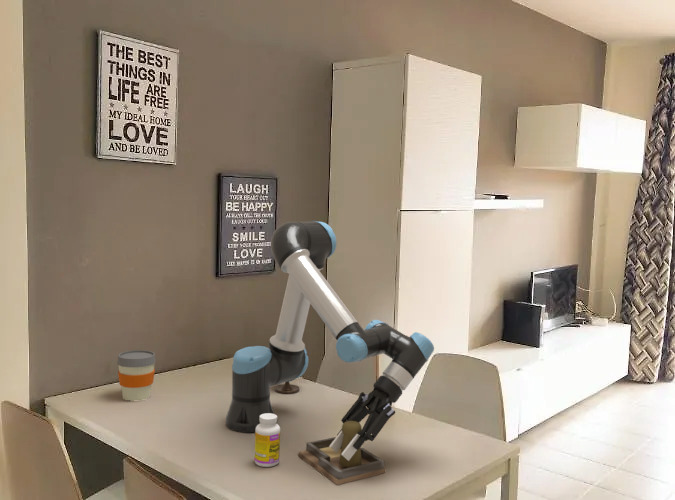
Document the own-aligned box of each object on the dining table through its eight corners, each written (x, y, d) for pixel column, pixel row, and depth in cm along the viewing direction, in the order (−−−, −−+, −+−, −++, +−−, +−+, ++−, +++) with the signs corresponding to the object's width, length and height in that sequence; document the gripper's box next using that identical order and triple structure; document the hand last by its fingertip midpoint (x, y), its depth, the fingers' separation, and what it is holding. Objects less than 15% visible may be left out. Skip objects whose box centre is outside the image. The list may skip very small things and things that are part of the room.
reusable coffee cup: (163, 396, 224) (163, 353, 223) (134, 405, 214) (134, 361, 212) (138, 389, 231) (138, 348, 230) (109, 398, 220) (109, 355, 219)
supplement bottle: (269, 470, 168) (270, 422, 167) (249, 463, 172) (250, 416, 171) (284, 461, 174) (285, 415, 173) (265, 455, 177) (266, 410, 176)
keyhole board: (298, 455, 178) (298, 444, 178) (343, 445, 186) (344, 435, 186) (336, 484, 161) (337, 472, 161) (385, 472, 169) (385, 460, 169)
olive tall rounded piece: (359, 469, 166) (361, 427, 165) (336, 466, 167) (338, 425, 166) (363, 459, 172) (365, 419, 171) (341, 456, 173) (342, 417, 172)
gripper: (421, 401, 168) (366, 474, 161) (380, 382, 184) (328, 448, 176) (405, 384, 165) (349, 458, 158) (365, 366, 180) (312, 433, 173)
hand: (338, 453), depth 167 cm, fingers closed on olive tall rounded piece, 5 cm apart
